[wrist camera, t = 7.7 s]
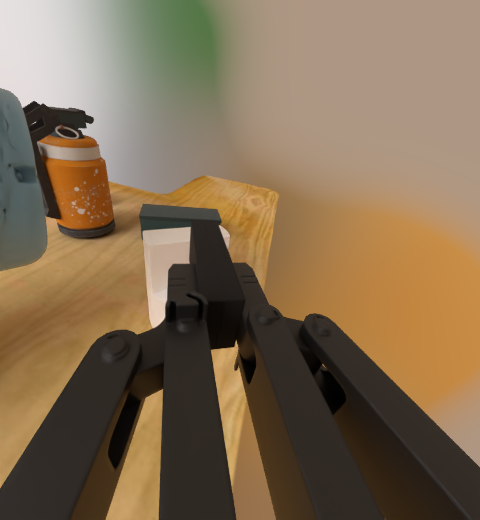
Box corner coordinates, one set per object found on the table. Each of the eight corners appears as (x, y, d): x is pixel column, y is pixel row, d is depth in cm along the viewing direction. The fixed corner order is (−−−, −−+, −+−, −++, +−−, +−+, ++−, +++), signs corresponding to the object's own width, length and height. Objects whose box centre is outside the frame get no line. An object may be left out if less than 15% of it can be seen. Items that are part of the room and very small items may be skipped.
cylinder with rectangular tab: (203, 284, 35) (211, 214, 29) (229, 327, 29) (246, 250, 22) (142, 297, 31) (135, 218, 24) (157, 351, 25) (153, 264, 18)
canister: (125, 230, 45) (110, 113, 34) (65, 250, 36) (19, 103, 25) (97, 215, 48) (75, 103, 37) (35, 231, 39) (-18, 92, 28)
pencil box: (141, 240, 43) (139, 215, 40) (144, 226, 47) (142, 203, 44) (218, 242, 47) (221, 220, 44) (214, 229, 52) (217, 209, 49)
